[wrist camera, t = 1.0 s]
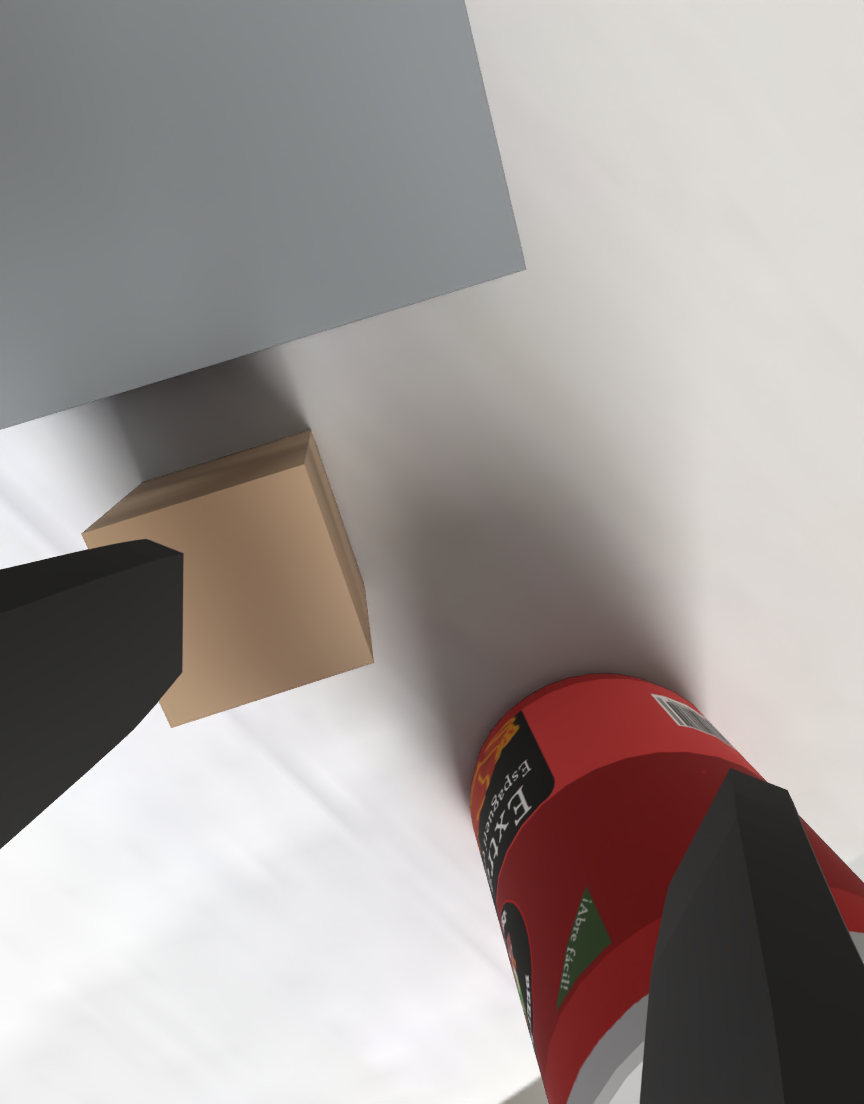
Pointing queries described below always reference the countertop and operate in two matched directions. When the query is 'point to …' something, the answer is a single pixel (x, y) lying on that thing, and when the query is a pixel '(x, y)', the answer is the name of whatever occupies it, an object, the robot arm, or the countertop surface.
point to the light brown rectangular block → (252, 574)
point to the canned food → (600, 862)
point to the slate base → (230, 182)
